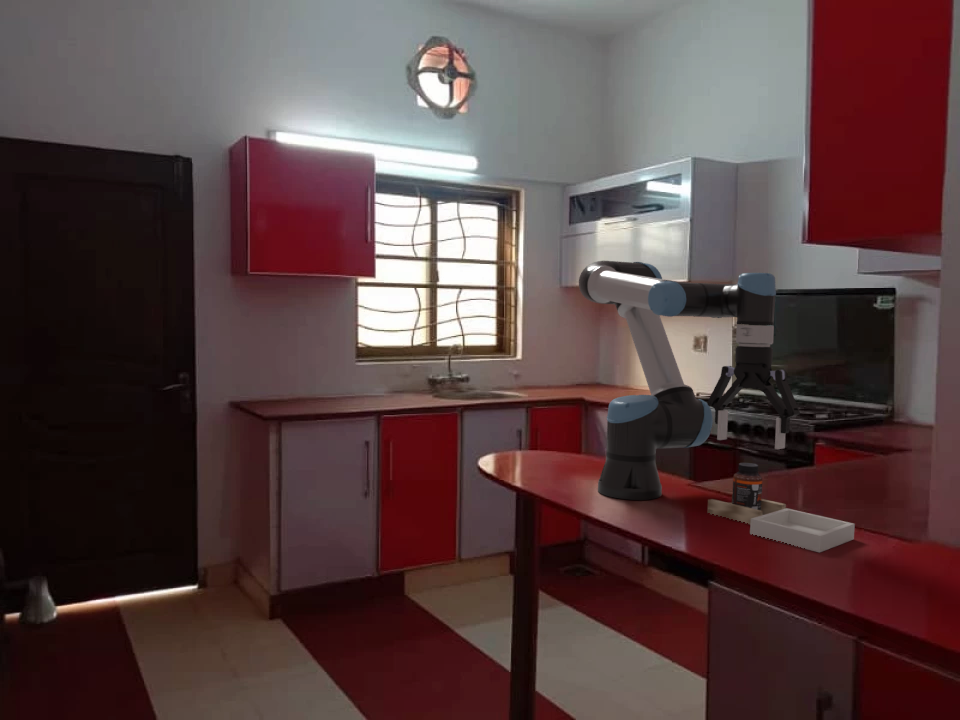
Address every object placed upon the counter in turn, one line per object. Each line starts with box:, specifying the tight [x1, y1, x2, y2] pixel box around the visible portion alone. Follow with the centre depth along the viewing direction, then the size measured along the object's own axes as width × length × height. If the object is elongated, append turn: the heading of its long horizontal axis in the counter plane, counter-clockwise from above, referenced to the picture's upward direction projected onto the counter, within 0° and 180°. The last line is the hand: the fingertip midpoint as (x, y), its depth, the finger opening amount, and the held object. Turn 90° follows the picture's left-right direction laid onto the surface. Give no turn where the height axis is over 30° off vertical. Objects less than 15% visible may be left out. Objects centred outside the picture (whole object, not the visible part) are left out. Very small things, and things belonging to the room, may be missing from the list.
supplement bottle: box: [731, 462, 763, 510], centre depth 161 cm, size 6×6×11 cm
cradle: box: [707, 493, 787, 525], centre depth 161 cm, size 12×11×3 cm
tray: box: [749, 507, 855, 553], centre depth 146 cm, size 14×14×3 cm
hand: (750, 444), depth 160 cm, fingers open, 13 cm apart
